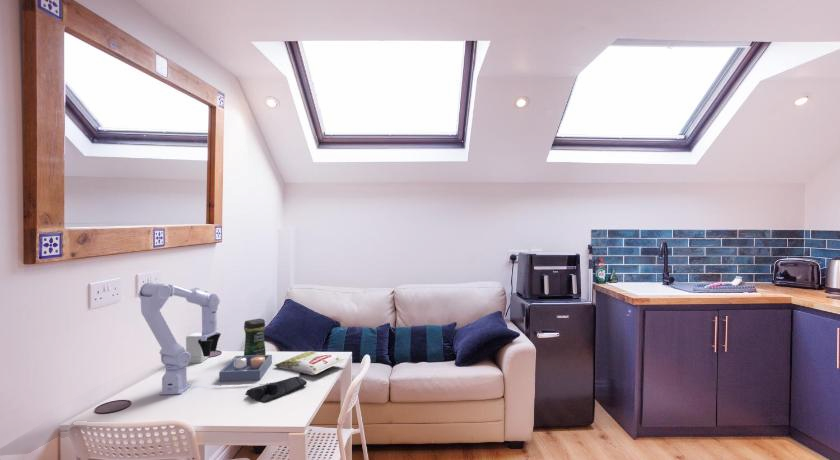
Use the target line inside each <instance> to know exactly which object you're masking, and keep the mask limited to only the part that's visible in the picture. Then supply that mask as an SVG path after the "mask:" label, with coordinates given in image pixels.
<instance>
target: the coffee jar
mask: <svg viewBox="0 0 840 460" xmlns="http://www.w3.org/2000/svg"><path fill="white" fill-rule="evenodd" d="M243 330H244V333H245V337H244V339H245V341H244V348H243V349H244V351H243V356H251V355H267V354H266V345H265V344H266V342H265V330H266V322H265V319H263V318H254V319H249V320H245V321H244V325H243Z"/></svg>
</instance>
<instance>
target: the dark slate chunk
mask: <svg viewBox="0 0 840 460" xmlns="http://www.w3.org/2000/svg"><path fill="white" fill-rule="evenodd" d="M307 384H308V383H307V380H305V379H303V378H301V377H300V376H293V377H289V378H285V379H282V380H277V381H274V382H270V383H266V384H262V385H259V386H254V387H251V388H249V389H247V390H246V393H244V395H245V396H247V397H249V399H251V400H253V401H256V402H257V401H258V402H260V403H261V402H263V403H268V402H270V401H272V400H275V399H278V398H280V397H283V396H285V395H286V394H290V393H293V392H295V391H297V390H300V389H301V388H303V387H304V386H306V385H307Z"/></svg>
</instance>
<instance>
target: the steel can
mask: <svg viewBox="0 0 840 460" xmlns="http://www.w3.org/2000/svg"><path fill="white" fill-rule="evenodd" d="M239 370H247V361H246V357H239V358H235V359H234V371H239Z"/></svg>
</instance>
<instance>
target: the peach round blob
mask: <svg viewBox="0 0 840 460" xmlns="http://www.w3.org/2000/svg"><path fill="white" fill-rule="evenodd" d="M264 361H265V357H262V356H259V357H253V358H251V369H254V370H257V369H259V368H260V367H261V365H262V364H263V363H264Z"/></svg>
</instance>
